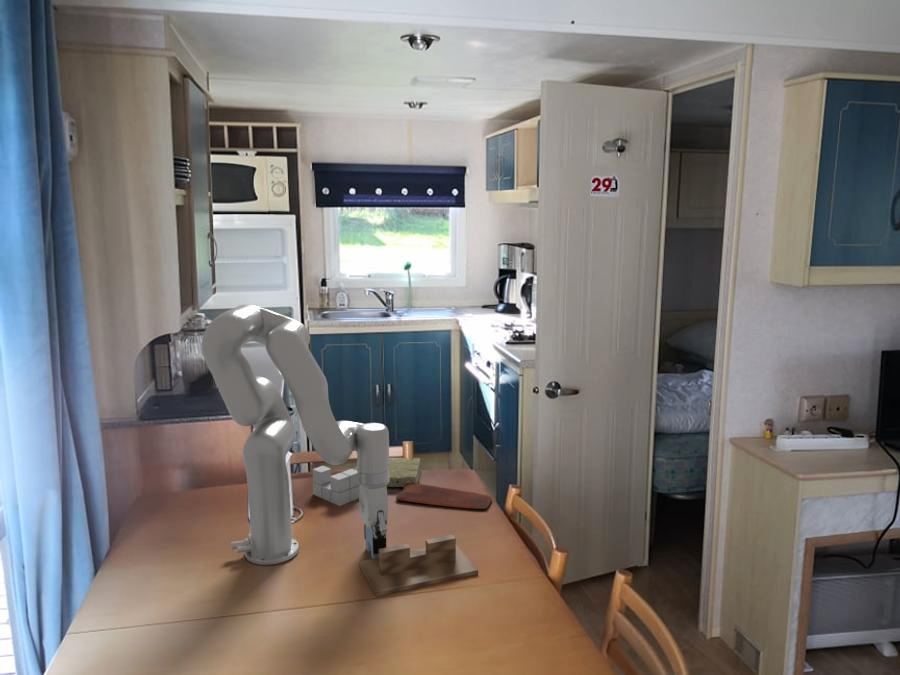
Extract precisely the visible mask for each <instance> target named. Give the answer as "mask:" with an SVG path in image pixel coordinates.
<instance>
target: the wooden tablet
mask: <svg viewBox="0 0 900 675" xmlns="http://www.w3.org/2000/svg"><path fill="white" fill-rule="evenodd" d="M395 499H396V500H398V501H404V502H410V503H417V504H427V505H435V506H443V507H452V508H462V509H463V508H465V509H477V510H478V509H479V510H481V509H482V510H483V509H487V508H488V507H489V505H490V504H491V501H492V499H493V498H492V496H490V495H487V494H484V493H483V494H482V493H480V492H479V493H477V492H474V491H473V492H472V491H466V490H460V489H457V488H456V489H454V488H450V487H443V486H437V485H429V484H421V483H418V484H412V483H409V484H406V485H405V487H403V490H402V491H400V492H399V493H398V494H397V495H395Z"/></svg>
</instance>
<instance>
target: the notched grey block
mask: <svg viewBox="0 0 900 675" xmlns="http://www.w3.org/2000/svg"><path fill="white" fill-rule="evenodd" d="M364 524H365V523H364ZM375 525H379V522H376V524H375ZM379 529H380V527H377V528H376V531H377V532H378V531H379ZM365 533H366V540H365V549H366V551H367V552H371V554H370V555H371V558H370V559H374V558H379V554H374V553H373V538H374V534H373V527H371V528H368V527H367V526H366V524H365Z"/></svg>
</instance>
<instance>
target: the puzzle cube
mask: <svg viewBox="0 0 900 675" xmlns="http://www.w3.org/2000/svg"><path fill="white" fill-rule="evenodd" d="M312 491H313V495H314V496H316V497H318V498H320V499H323V500H325V501H328V502H330V503H332V504H333V505H336V506H338V507H341V506H343V505H346V504H348V503H350V502H353V501H356V500H359V484H358V472H357V471H356V470H355V469H353V468H349V469H347V470H345V471H341V472H338V473H335V474H332V468H330V467H328V466H325V465H320V466H318V467H314V468H313V469H312Z"/></svg>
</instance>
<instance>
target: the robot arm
mask: <svg viewBox="0 0 900 675" xmlns="http://www.w3.org/2000/svg"><path fill="white" fill-rule="evenodd" d="M251 341H252V342H256V343H259V344H262V345H264V347H265V351H266V352H267V355H268V356H269V359H270V360H271V362H272V363H273V364H274V366H275V368H276V370H277V372H278V373H279V374H280V376H281V379H282V380H283V382H284V383H285V384H286V387H287V388H288V390H289V392H290V393H291V395H292V398H293V399H294V400H293V401H294V402H295V403H294V404H295V407H296V410H297V414H298V415H299V420H300V422H301V425H302V428H303V430H304V432H305V435H306V437H307V438H308V441H309V442H310V444H311V445H312V447H313V449H314V450H315V452H316V454H317V455H318V456H319V457H320V459H321V460H323V461H324V462H325V463H327V464H329V465H332V466H338V465H342V464H344V463H346V462H347V461H348V460H349V459H350V457H351V456H352V454H353V453H354V452H355V453H356V457H357V458H356V460H357V462H356V463H357V464H356V466H357V472H358V484H359V498H358V514H359V516H360V517H361V519H362V521H363V522H364V524H363V526H364V527H363V530H364V532H363V533H364V536H363V537H364V540H365V541H366V533H365V524H366V526H367V527H368V528H371V527H373V534H374V538H373V553H374V554H379V549H381V548H386V547H387V531H388V529H387V525H388V524H389V501H388V500H389V499H388V498H389V497H388V489H387V488H388V487H387V486H386V485H387V484H388V483H389V482H390V471H389V458H390V438H389V437H390V435H389V434H390V433H389V429H388V427H387V426H386V425H385V424H384V423H380V422H367V423H362V422H355V421H351V420H350V421H349V420H339V421H338V420H336V418H335V416H334V414H333V411H332V407H331V405H330V399H329V386H328V385H329V384H328V381H327V378H326V376H325V374H324V372H323V371H322V369H321V367H320V366H319V364H318V362H317V360H316V359H315V357H314V356H313V354H312V352H311V350H310V348H309V344H310V342H311V334H310V332H309V330H308V328H307V327H306V325H304V324H303V323H302V322H300V321H298V320H296V319H294V318H291V317H289V316H286V315H284V314H283V315H282V314H280V313H277V312H274V311H272V310H269V309H267V308H263V307H260V306H257V305H254V304H242V305H238V306H236V307H233V308H230V309H227V310H226V311H224V312H222V313H220V314H218V315H217V316H216V317H215V318H214V319H213V320H212V321H211V322H210V323H209V325H208V326H207V327H206V329H205V330H204V332H203V335H202V339H201V351H202V356H203V359H204V361H205V363H206V365H207V366H206V367H207V368H208V369H209V372H210V374H211V375H212V377H213V379H214V383H215V385H216V386H217V387H216V388H217V389H218V391H219V394H220V395H221V398H222V400H223V402H224V404H225V407H226V409H227V411H228V413H229V415H230V417H231V419H232V420H233V421H234V423H236V424H238V425H239V426H242V427H251V426H253V427H254V430H253V431H252V432H251V433H250V434H249V435H248V437H247V438H246V440H245V443H244V445H243V449H242V459H243V464H244V469H245V473H246V483H247V495H248V506H249V507H248V510H249V525H250V526H249V527H250V532H249V533H248V537H247V538H246V537H245V538H244V540H243V539H242V540H235V541H231V542H230V546H231V551H235V550H237V553H238V554H241V553H243V552H244V554H245V556H244V557H245V558H246V560H247V561H248V562H251V563H252V564H255V565H261V566H262V565H263V566H271V565H277V564H280V563H284V562H286V561H289V560H291V559H292V558H294V557H295V556H296V555H297V554H298V552H299V551H300V550H299V549H300V544H299V542H298V541H297V540H296V539H295V538H294V537H293V535H292V534H293V533H292V515H291V495H290V494H291V492H290V479H289V478H290V477H289V471H288V468H287V462H286V460H287V459H286V458H287V454H288V453H289V451H290V450H291V448H292V447H293V445H294V444H295V441H296V436H297V433H296V432H297V431H296V427H295V423H294V421H293V420H292V417H291V415H290V412H289V411H288V407H287V406H286V404H285V402H284V400H283V397H282V395H281V393H280V391H279V389H278V388H277V386H276V385H275V384H274V383H273V381H272V380H271V379H268V378H267V377H263V376H259V375H258V376H256V375H255V374H254V371H253V369H252V367H251V365H250V363H249V361H248V359H247V358H246V356H244V354H243V353H242V347H243V346H244V345H245V344H247V343H249V342H251ZM376 522H379V525H375V524H376ZM377 527H380V529H379V531H378V532H377V531H376V528H377Z"/></svg>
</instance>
